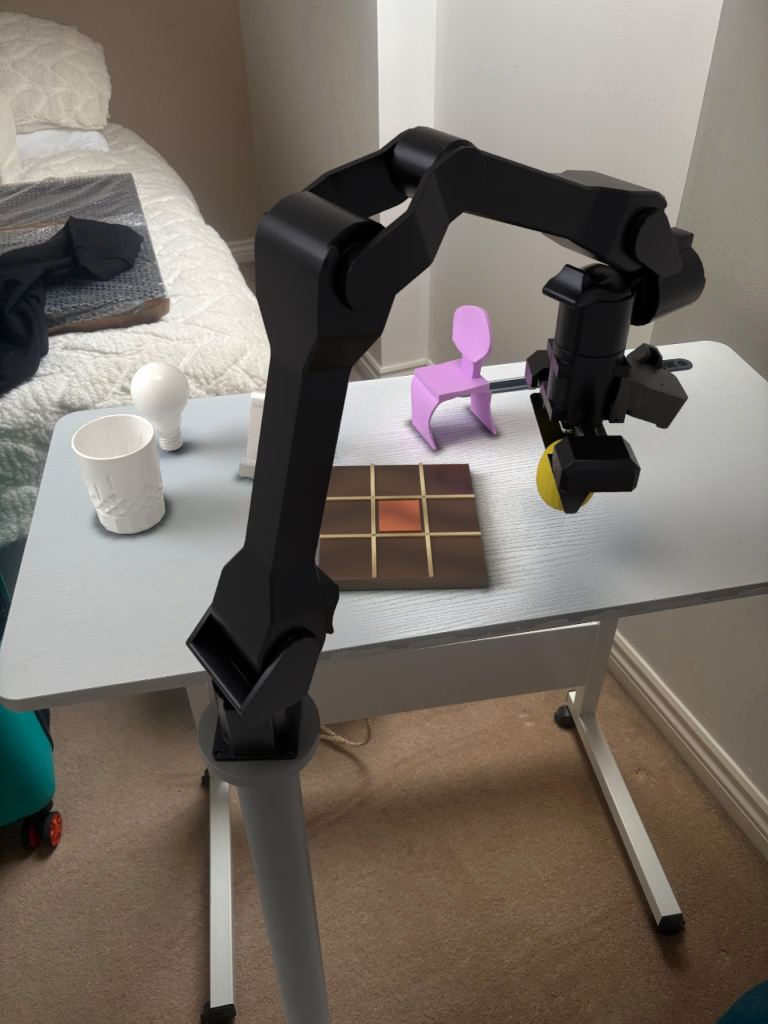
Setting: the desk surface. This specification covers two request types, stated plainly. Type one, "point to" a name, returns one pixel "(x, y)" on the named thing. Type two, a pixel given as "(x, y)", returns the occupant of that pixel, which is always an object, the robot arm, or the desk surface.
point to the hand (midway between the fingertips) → (563, 493)
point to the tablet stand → (253, 433)
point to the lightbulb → (162, 400)
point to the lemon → (550, 482)
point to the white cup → (121, 471)
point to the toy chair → (456, 373)
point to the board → (402, 528)
